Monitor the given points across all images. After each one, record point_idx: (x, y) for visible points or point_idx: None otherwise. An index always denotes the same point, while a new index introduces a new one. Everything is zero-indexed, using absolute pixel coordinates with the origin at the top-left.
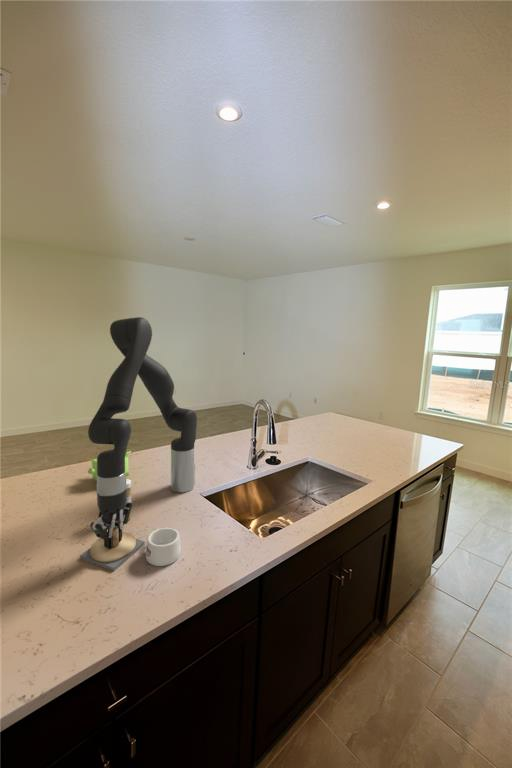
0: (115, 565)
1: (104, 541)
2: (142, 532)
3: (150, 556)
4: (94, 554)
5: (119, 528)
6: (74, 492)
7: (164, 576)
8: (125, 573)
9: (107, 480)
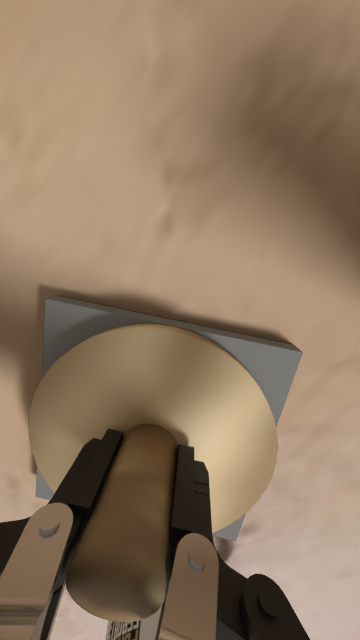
0: (49, 496)
1: (65, 478)
2: (328, 480)
3: (108, 633)
4: (46, 397)
5: (165, 593)
6: None
7: (86, 624)
8: None
9: None
